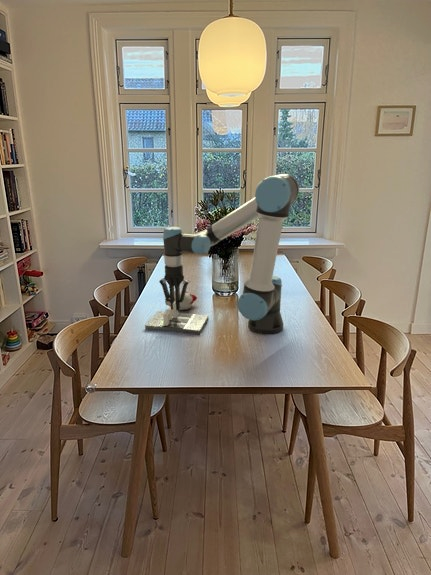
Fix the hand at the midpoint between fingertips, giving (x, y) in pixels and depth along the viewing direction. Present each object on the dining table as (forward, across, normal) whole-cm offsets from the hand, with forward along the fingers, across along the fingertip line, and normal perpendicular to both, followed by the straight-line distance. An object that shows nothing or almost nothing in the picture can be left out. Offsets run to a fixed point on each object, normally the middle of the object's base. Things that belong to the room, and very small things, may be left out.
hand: (175, 316), depth 174 cm
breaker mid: (+1, +2, 0) cm, 3 cm away
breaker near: (+1, +2, +6) cm, 7 cm away
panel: (+4, -1, 0) cm, 4 cm away
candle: (+4, +2, -19) cm, 19 cm away
